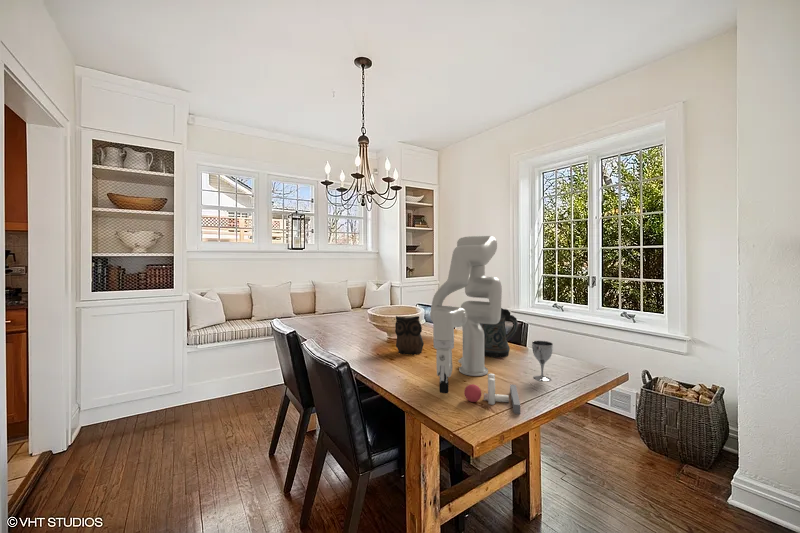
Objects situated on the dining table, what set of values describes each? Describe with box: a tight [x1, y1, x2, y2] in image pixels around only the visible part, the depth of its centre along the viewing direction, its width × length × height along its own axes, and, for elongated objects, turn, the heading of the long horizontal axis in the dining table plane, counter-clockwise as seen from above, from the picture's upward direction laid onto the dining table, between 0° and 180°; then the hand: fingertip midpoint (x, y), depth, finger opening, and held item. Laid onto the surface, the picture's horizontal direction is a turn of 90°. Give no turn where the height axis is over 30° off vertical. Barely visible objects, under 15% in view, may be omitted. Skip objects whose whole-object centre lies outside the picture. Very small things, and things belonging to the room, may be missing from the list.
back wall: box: [509, 384, 521, 415], centre depth 124 cm, size 18×2×3 cm, turn 166°
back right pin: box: [487, 378, 496, 406], centre depth 124 cm, size 2×2×8 cm
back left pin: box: [487, 373, 496, 380], centre depth 128 cm, size 2×2×8 cm
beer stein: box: [481, 307, 519, 358], centre depth 185 cm, size 16×19×25 cm
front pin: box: [483, 392, 510, 403], centre depth 126 cm, size 2×2×8 cm
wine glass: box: [531, 340, 554, 382], centre depth 147 cm, size 8×8×15 cm
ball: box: [463, 383, 482, 403], centre depth 125 cm, size 6×6×6 cm
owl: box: [394, 315, 425, 356], centre depth 188 cm, size 13×13×20 cm
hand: (444, 392), depth 130 cm, fingers closed
